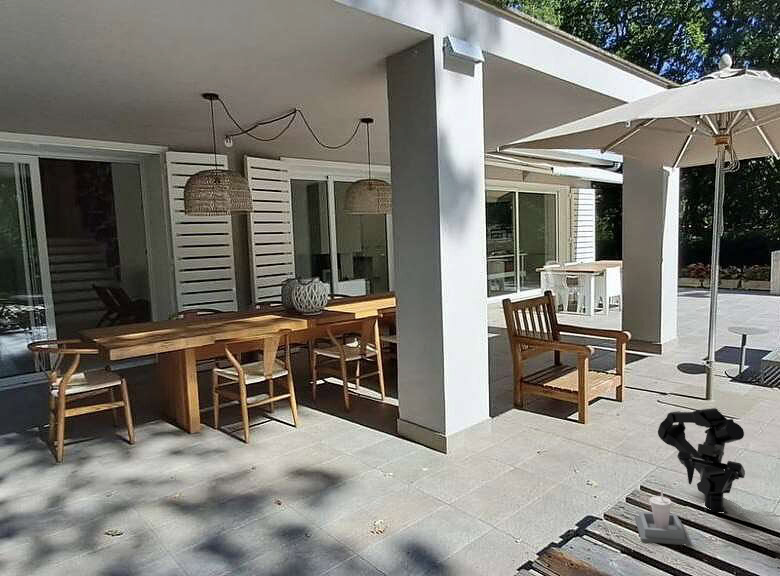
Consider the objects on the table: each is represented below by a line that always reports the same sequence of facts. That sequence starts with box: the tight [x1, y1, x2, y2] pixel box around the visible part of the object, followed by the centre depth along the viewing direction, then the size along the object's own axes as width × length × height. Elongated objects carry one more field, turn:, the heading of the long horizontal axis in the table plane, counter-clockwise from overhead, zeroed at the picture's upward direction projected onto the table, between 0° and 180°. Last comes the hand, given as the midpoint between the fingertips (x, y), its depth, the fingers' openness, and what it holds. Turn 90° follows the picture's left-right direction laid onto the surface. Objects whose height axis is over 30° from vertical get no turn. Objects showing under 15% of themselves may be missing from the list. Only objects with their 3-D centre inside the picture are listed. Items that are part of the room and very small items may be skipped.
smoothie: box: [649, 487, 672, 529], centre depth 172 cm, size 6×6×14 cm
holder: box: [634, 510, 691, 546], centre depth 172 cm, size 14×14×4 cm
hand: (705, 487), depth 172 cm, fingers open, 9 cm apart
